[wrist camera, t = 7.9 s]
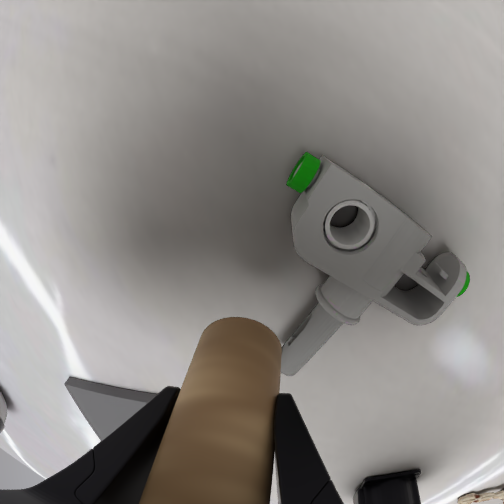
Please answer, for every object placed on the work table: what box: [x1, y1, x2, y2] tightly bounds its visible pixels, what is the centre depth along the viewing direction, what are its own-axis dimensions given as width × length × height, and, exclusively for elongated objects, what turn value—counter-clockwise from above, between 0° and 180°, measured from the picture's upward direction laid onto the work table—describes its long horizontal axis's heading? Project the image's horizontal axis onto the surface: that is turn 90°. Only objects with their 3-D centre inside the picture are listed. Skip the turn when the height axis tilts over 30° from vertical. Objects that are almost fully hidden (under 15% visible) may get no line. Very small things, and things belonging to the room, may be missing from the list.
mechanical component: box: [281, 152, 470, 376], centre depth 14 cm, size 3×10×10 cm
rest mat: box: [65, 377, 157, 441], centre depth 23 cm, size 10×10×1 cm
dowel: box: [139, 317, 282, 504], centre depth 8 cm, size 3×3×7 cm
